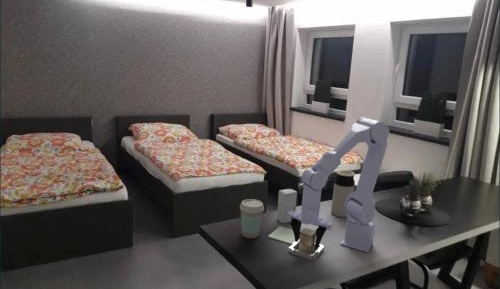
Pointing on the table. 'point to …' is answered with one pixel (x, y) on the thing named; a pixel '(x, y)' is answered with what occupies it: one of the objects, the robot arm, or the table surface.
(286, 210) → the skincare box
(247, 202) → the coffee cup
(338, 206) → the travel mug
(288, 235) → the pad
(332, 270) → the table surface
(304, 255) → the metal collar
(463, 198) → the table surface
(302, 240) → the maple peg
